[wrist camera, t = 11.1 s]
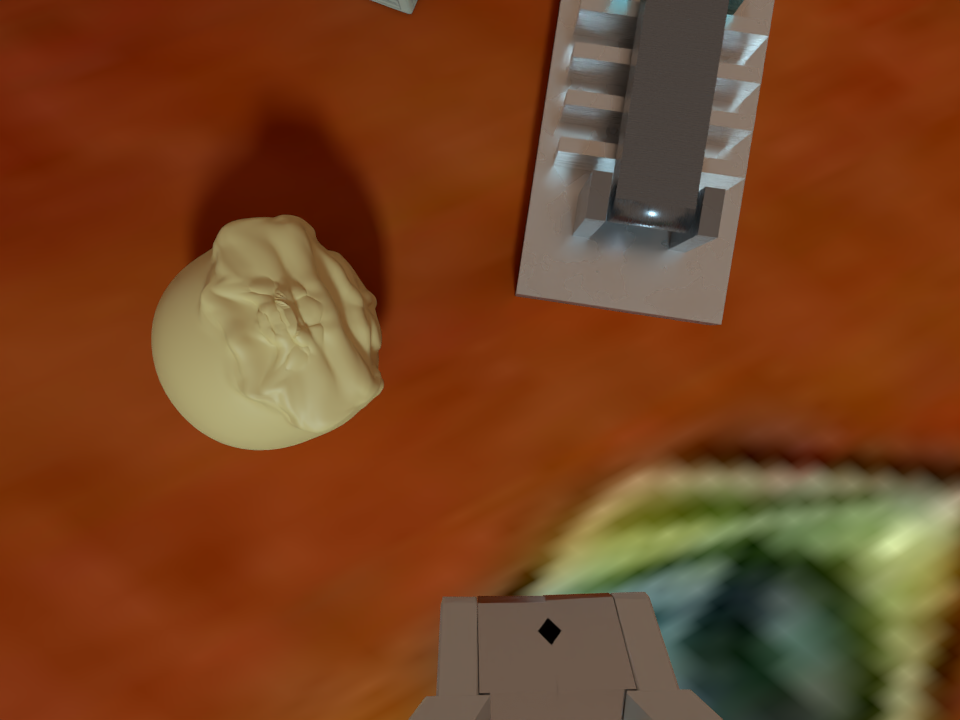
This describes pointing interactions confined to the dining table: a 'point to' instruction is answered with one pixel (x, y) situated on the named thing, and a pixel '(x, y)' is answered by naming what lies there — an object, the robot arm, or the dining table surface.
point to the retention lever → (667, 113)
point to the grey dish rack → (590, 166)
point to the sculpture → (267, 337)
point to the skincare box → (399, 4)
